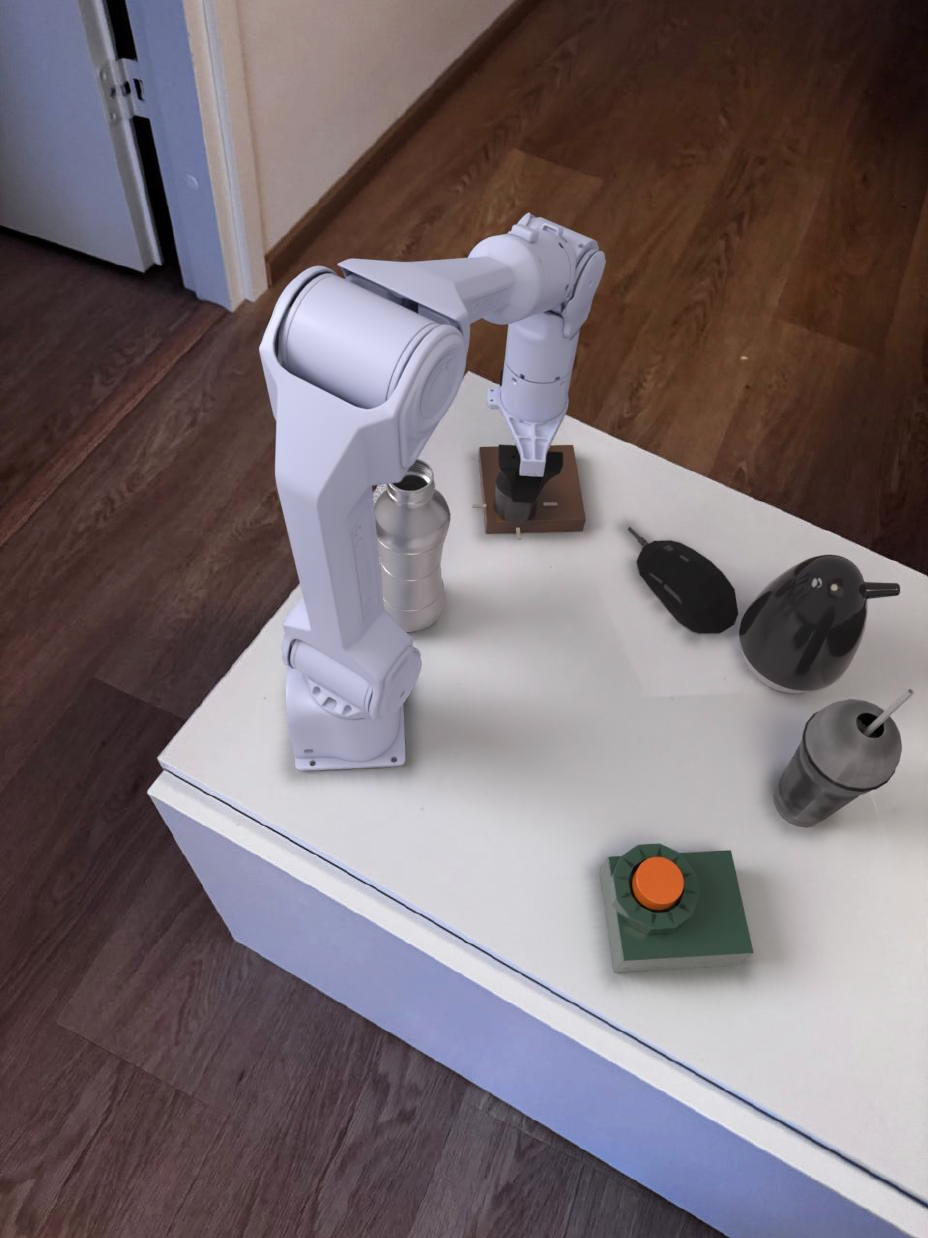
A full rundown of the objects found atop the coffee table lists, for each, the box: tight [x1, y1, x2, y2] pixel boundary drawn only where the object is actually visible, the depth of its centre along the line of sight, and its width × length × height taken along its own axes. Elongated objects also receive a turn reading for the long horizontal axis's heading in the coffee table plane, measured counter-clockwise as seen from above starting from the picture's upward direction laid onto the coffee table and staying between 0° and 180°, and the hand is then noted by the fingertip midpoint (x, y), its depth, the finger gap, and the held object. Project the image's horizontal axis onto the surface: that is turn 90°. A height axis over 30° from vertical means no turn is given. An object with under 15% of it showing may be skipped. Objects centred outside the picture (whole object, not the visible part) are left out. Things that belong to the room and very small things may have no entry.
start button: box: [632, 857, 684, 910], centre depth 73 cm, size 4×4×2 cm
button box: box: [599, 843, 754, 974], centre depth 76 cm, size 10×8×6 cm
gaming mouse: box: [627, 526, 739, 635], centre depth 95 cm, size 6×15×4 cm, turn 34°
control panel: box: [472, 444, 587, 541], centre depth 100 cm, size 11×12×2 cm
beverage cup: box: [773, 687, 915, 828], centre depth 76 cm, size 7×7×20 cm
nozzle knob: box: [493, 471, 539, 522], centre depth 96 cm, size 4×4×4 cm
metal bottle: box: [374, 458, 451, 633], centre depth 85 cm, size 6×7×20 cm
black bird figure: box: [738, 554, 901, 694], centre depth 85 cm, size 10×10×15 cm
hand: (523, 468), depth 92 cm, fingers open, 7 cm apart
